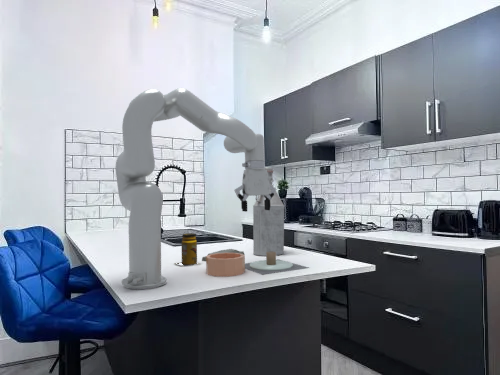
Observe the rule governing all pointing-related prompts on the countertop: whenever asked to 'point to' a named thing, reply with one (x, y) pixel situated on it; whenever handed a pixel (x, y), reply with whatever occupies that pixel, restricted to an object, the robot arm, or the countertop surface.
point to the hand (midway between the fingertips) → (256, 210)
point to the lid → (271, 263)
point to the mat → (295, 267)
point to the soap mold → (225, 252)
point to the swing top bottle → (268, 223)
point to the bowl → (225, 264)
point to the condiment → (189, 249)
